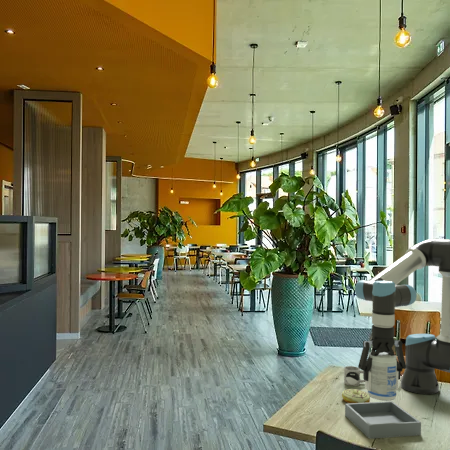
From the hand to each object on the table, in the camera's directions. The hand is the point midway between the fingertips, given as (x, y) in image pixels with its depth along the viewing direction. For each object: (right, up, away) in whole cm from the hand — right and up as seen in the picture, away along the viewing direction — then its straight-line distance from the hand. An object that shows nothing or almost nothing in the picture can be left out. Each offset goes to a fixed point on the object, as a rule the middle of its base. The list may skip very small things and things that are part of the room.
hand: (381, 389), depth 164 cm
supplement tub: (0, -3, 0) cm, 3 cm away
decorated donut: (-3, -13, +22) cm, 26 cm away
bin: (0, -13, 0) cm, 13 cm away
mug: (+3, -13, +42) cm, 44 cm away
